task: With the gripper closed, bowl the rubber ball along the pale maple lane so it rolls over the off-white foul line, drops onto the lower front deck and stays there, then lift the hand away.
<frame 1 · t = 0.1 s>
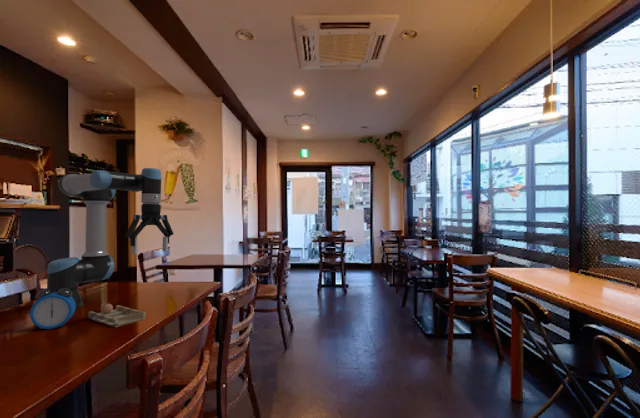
hand: (150, 252, 140), 28 cm above the table, fingers open, 13 cm apart
ball: (107, 308, 141), point 3 cm above the table, touching lane
lane: (116, 318, 137), on the table
alarm clock: (53, 327, 126), on the table
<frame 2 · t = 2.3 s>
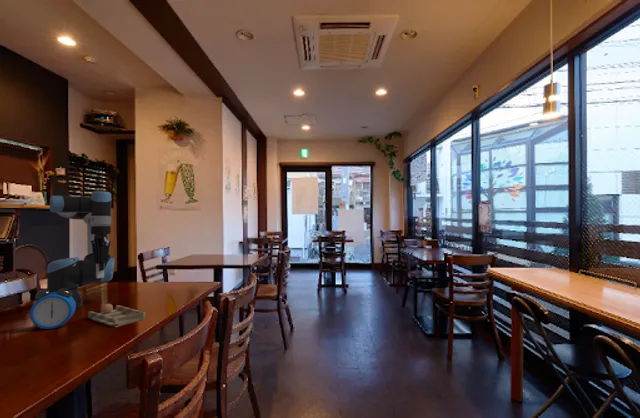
hand: (100, 277, 145), 16 cm above the table, fingers closed
nothing on the table moved.
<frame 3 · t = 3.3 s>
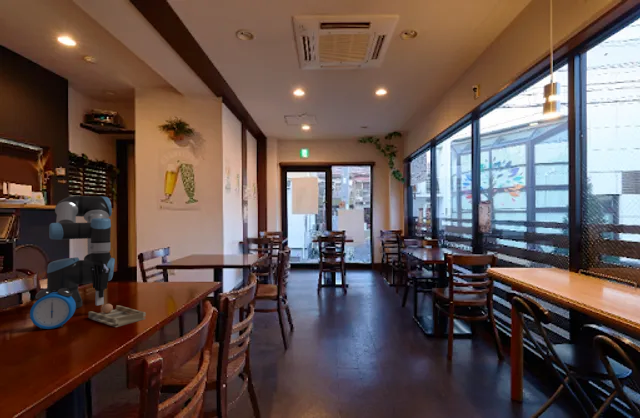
hand: (99, 304, 144), 4 cm above the table, fingers closed
nothing on the table moved.
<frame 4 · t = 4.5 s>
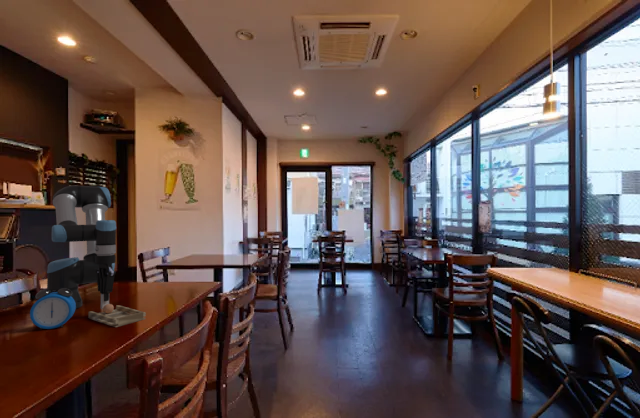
hand: (104, 308, 142), 3 cm above the table, fingers closed
ball: (108, 308, 141), point 3 cm above the table, tilted 23°, touching lane
everything else where it was.
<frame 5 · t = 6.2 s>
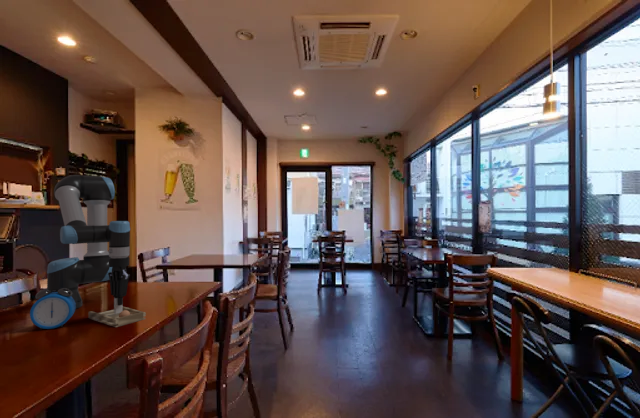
hand: (118, 312, 136), 3 cm above the table, fingers closed
ball: (124, 315, 134), point 2 cm above the table, tilted 54°, touching lane
everything else where it was.
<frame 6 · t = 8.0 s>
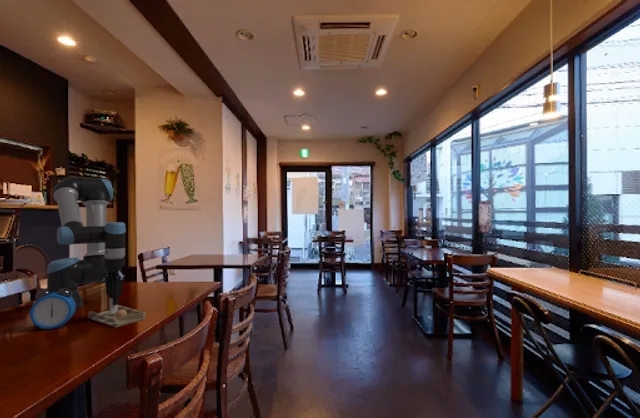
hand: (113, 312, 139), 2 cm above the table, fingers closed
ball: (121, 314, 135), point 2 cm above the table, tilted 23°, touching lane
everything else where it was.
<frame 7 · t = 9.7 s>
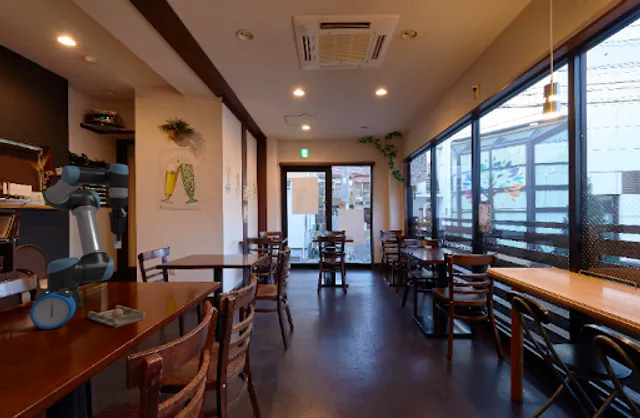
hand: (117, 248, 149), 29 cm above the table, fingers closed
ball: (117, 313, 136), point 2 cm above the table, tilted 94°, touching lane
everything else where it was.
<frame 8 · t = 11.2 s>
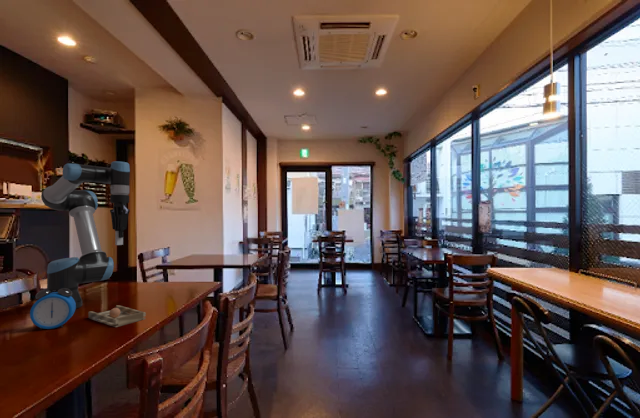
hand: (119, 244, 150), 30 cm above the table, fingers closed
ball: (114, 312, 137), point 2 cm above the table, tilted 158°, touching lane
everything else where it was.
at the end: ball inside the target area on the lane (4.7 cm from its centre), point 2.4 cm above the lane's base; ball moved 6.9 cm from its start; the gripper is holding nothing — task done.
